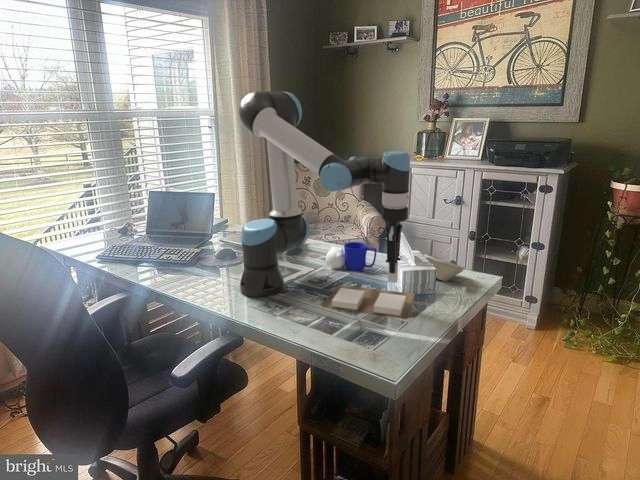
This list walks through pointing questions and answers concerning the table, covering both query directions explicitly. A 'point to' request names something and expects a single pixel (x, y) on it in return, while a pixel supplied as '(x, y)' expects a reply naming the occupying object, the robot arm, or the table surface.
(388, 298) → the tile
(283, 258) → the table surface
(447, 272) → the bowl
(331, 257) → the crumpled paper ball
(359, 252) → the mug
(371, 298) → the board
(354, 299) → the tile
